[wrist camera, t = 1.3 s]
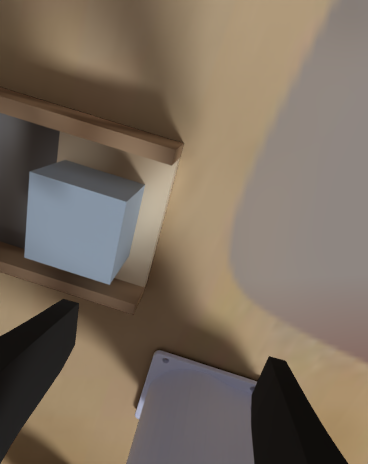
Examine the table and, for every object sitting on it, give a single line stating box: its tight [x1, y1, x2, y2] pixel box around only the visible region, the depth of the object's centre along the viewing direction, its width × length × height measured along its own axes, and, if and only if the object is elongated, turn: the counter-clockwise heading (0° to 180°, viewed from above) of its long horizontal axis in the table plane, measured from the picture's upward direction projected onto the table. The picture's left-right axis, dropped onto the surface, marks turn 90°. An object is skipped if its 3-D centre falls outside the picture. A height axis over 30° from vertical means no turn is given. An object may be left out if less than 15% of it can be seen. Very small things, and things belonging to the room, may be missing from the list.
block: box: [24, 160, 145, 285], centre depth 17 cm, size 5×5×4 cm
